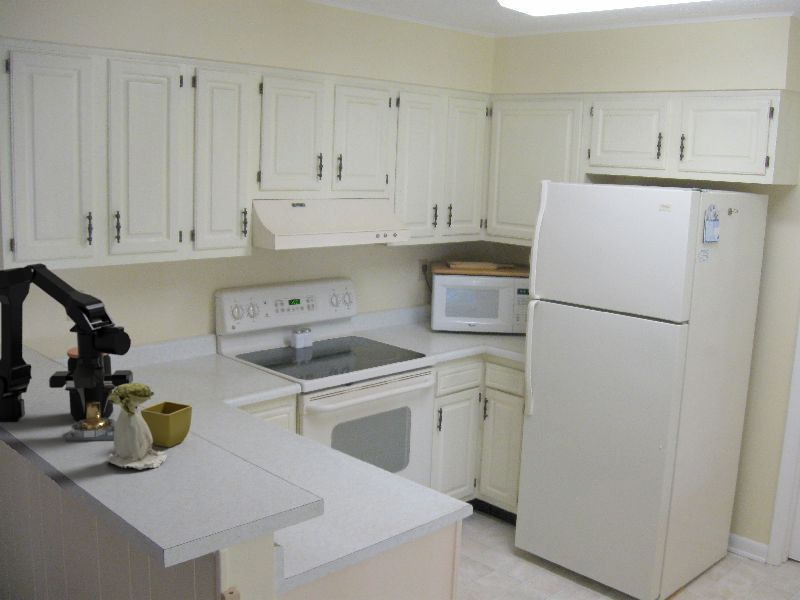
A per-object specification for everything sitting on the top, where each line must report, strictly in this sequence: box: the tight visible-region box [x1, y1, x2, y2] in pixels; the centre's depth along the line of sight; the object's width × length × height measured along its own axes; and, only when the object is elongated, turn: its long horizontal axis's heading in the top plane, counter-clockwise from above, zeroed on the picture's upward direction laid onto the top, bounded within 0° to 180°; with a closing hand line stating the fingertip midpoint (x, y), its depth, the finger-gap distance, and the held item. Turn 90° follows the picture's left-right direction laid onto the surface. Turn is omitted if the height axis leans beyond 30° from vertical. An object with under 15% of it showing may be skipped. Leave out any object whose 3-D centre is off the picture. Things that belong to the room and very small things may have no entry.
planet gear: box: [80, 401, 108, 430], centre depth 211 cm, size 6×6×7 cm
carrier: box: [65, 417, 117, 442], centre depth 212 cm, size 19×10×2 cm, turn 96°
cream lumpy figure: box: [106, 382, 168, 471], centre depth 191 cm, size 12×13×18 cm
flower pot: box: [140, 400, 193, 448], centre depth 205 cm, size 9×9×9 cm
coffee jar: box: [66, 346, 114, 422], centre depth 224 cm, size 11×11×18 cm
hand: (93, 412), depth 211 cm, fingers open, 4 cm apart
